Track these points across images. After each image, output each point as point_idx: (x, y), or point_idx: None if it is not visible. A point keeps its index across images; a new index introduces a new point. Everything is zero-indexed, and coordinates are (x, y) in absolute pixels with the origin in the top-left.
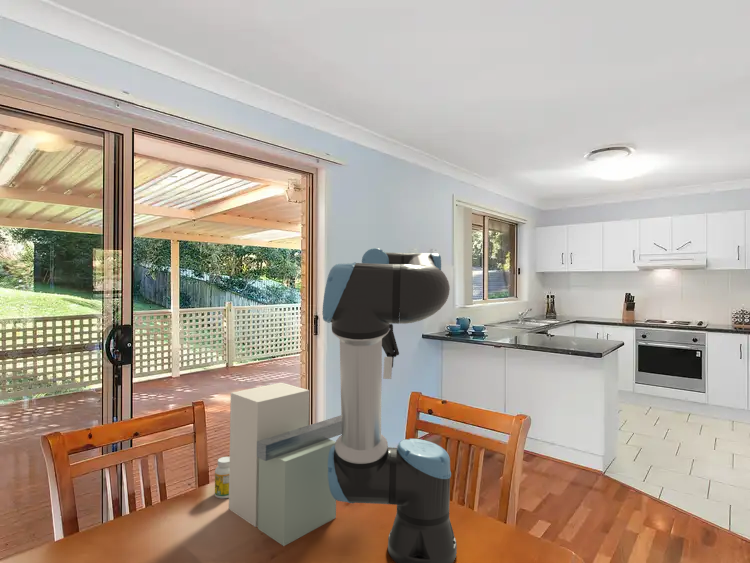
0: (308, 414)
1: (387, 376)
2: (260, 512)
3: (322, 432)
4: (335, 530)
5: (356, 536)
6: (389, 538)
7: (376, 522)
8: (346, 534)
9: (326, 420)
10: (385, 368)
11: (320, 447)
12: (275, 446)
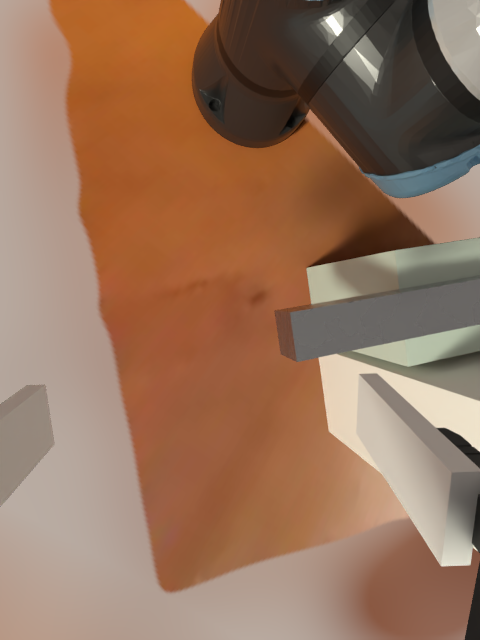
0: (451, 391)
1: (39, 413)
2: None
3: (439, 284)
4: (328, 235)
5: (311, 196)
6: (303, 116)
7: (257, 206)
8: (321, 212)
9: (409, 333)
10: (8, 474)
11: (448, 247)
12: None
